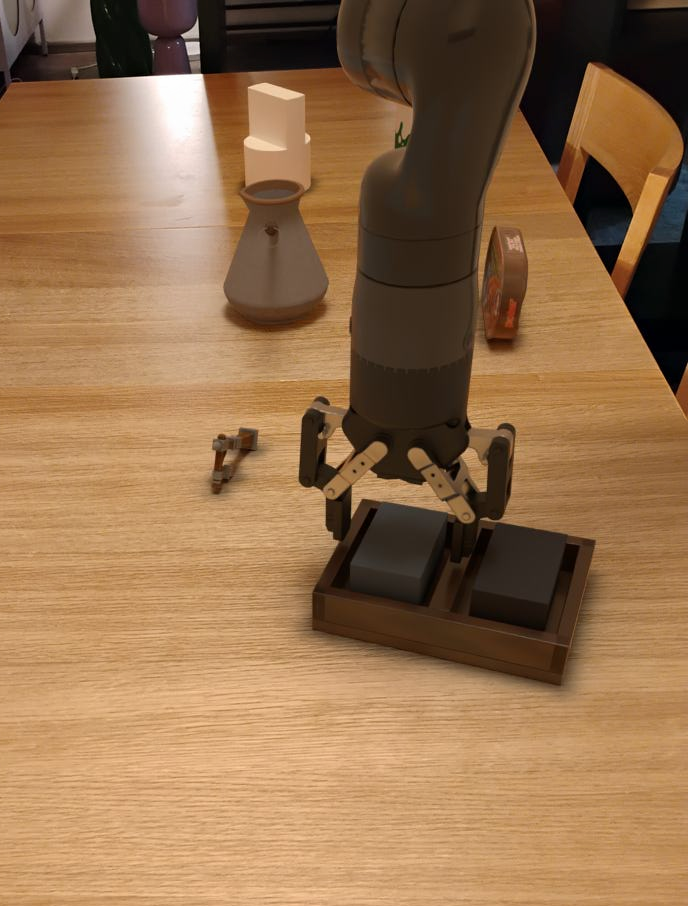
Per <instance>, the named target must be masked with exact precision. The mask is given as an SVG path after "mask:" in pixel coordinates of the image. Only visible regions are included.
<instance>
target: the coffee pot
mask: <svg viewBox="0 0 688 906" xmlns="http://www.w3.org/2000/svg"><path fill="white" fill-rule="evenodd" d="M305 192H306V191H305V189H304V186H303V185H302V184H300V183H298V182H296V181H291V180H284V179H272V180H264V181H259V182H255V183H252V184H250V185H248V186H246V185H245V187H243V188H242V189H240V191H239V192H238V196H239V197H240V198H241V199H242V201H243V202H244V204H245V206H246V207H247V209H248V215H247V217H246V221H245V223H244V226H243V229H242V232H241V234H240V236H239V240H238V242H237V246H236V248H235V251H234V253H233V257H232V259H231V262H230V265H229V268H228V271H227V274H226V276H225V279H224V281H223V286H222V287H223V292H224V296H225V298H226V300H227V302H228V303H229V304H230V305H231V307H233V309H235V310H236V311H237V312H238V313H240V314H241V315H243V316H244V318H245V319H247V320H249V321H251V322H253V323H256V324H261V325H273V326H276V325H286V324H290V323H295V322H297V321H301V320H302V319H304V318H305V317H307V316H308V315H309V314H310V313H311V312H312V310H314V309H315V308H316V307H317V306H318V305H319V304H320V303H321V302H322V300H323V299H324V298H325V296H326V294H327V292H328V289H329V284H330V281H329V277H328V274H327V272H326V270H325V267H324V266H323V262H322V260H321V257H320V256H319V253H318V252H317V249H316V246H315V244H314V242H313V239H312V237H311V235H310V232H309V230H308V228H307V225H306V223H305V221H304V219H303V216H302V214H301V211H300V209H299V206H300V203H301V202H300V201H301V198H302V197H303V196H304V194H305Z"/></svg>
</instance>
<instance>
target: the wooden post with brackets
mask: <svg viewBox="0 0 688 906" xmlns="http://www.w3.org/2000/svg"><path fill="white" fill-rule="evenodd" d="M258 439H259V429H256V428H250V427H243V426H239V427H238V433H237V435H235V436H234V435H231V436H227V434H224V433H219V434H217V438H213V439H212V446H211V451H215V455H214V465H213V470H212V472H211V479H212V481H211V488H214V489H220V488H221V487H222V485H221V484H222V480H223V479H224V480H230V477H232V478H233V477H234V470H235V469H234V467H235V466H234V465H228V464H224V461H225V458H226V456H227V452H228V451H229V450H232V451H236V450H238V449H249V450H254V451H255V450H257V448H258Z"/></svg>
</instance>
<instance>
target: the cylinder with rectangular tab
mask: <svg viewBox="0 0 688 906" xmlns="http://www.w3.org/2000/svg"><path fill="white" fill-rule="evenodd" d="M247 105H248V106H247V108H248V109H247V110H248V127H249V128H248V130H249V135H248V136H247V137H246V138H244V139H243V154H244V155H243V157H244V158H243V159H244V177H245V178H244V179H245V187H246V186H248V185H250V184H252V183H255V182H259V181H264V180H272V179H284V180H291V181H296V182H298V183H300V184H302V185H303V186H304V189H305V192H306V191H307V190H309V189H310V188H311V184H312V182H311V180H312V178H311V174H312V173H311V172H312V171H311V170H312V169H311V168H312V167H311V162H312V161H311V136H310V135H309V134H308V133H307V132H306V95H305V93H301V92H298V91H295V90H292V89H288V88H284V87H281V86H278V85H274V84H271V83H268V82H261V83H257V84H253V85H250V86H247Z"/></svg>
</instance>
